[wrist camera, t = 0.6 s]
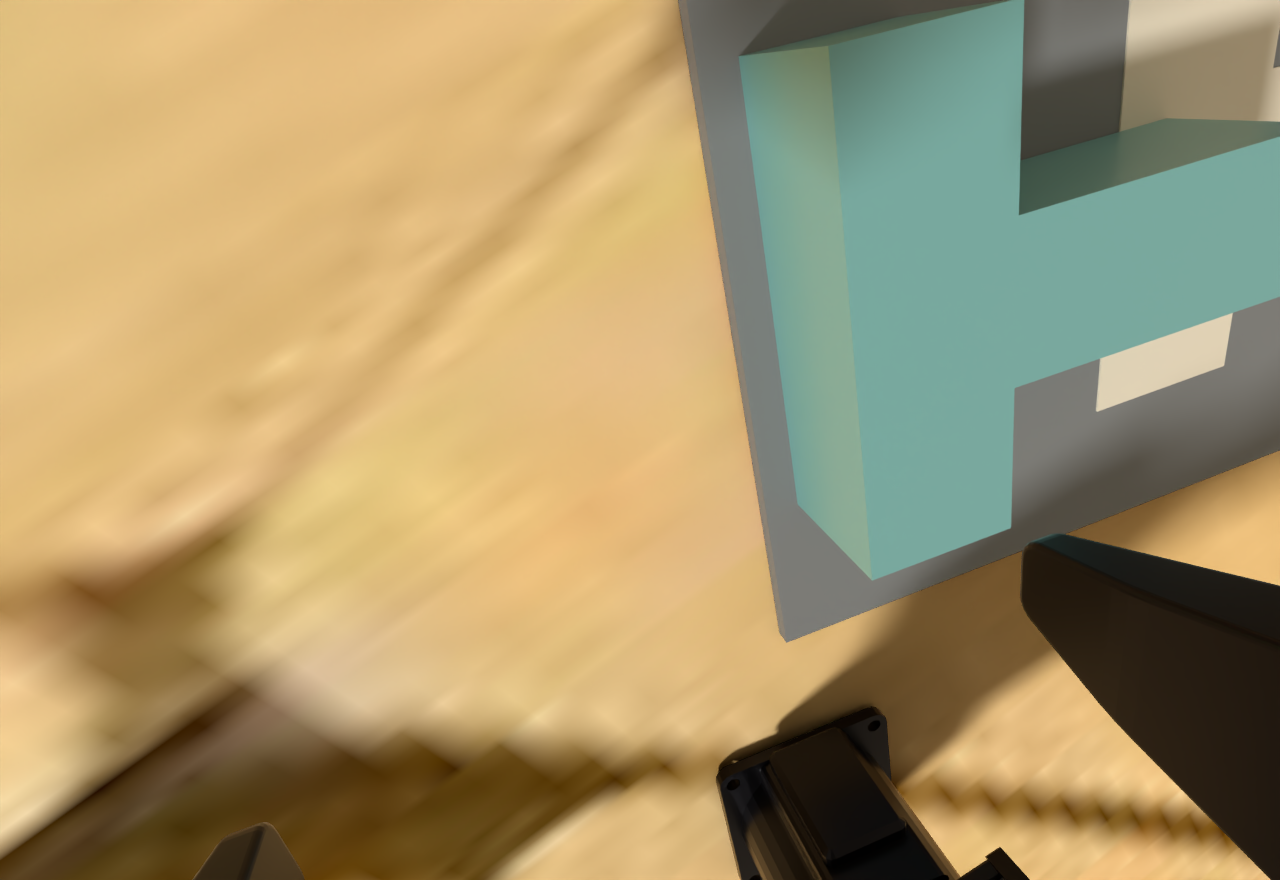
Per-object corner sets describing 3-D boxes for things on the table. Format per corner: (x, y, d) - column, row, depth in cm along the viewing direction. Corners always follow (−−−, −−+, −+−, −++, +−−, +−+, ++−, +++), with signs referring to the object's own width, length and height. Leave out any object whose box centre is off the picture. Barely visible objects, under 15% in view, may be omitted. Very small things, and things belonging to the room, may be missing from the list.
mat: (1393, 395, 29) (1409, 400, 29) (779, 633, 25) (787, 643, 24) (1614, -388, 19) (1646, -400, 18) (643, -213, 15) (652, -224, 14)
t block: (1137, 383, 24) (1263, 432, 21) (797, 504, 22) (872, 580, 19) (1185, -54, 19) (1366, -89, 15) (738, 56, 17) (828, 46, 13)
